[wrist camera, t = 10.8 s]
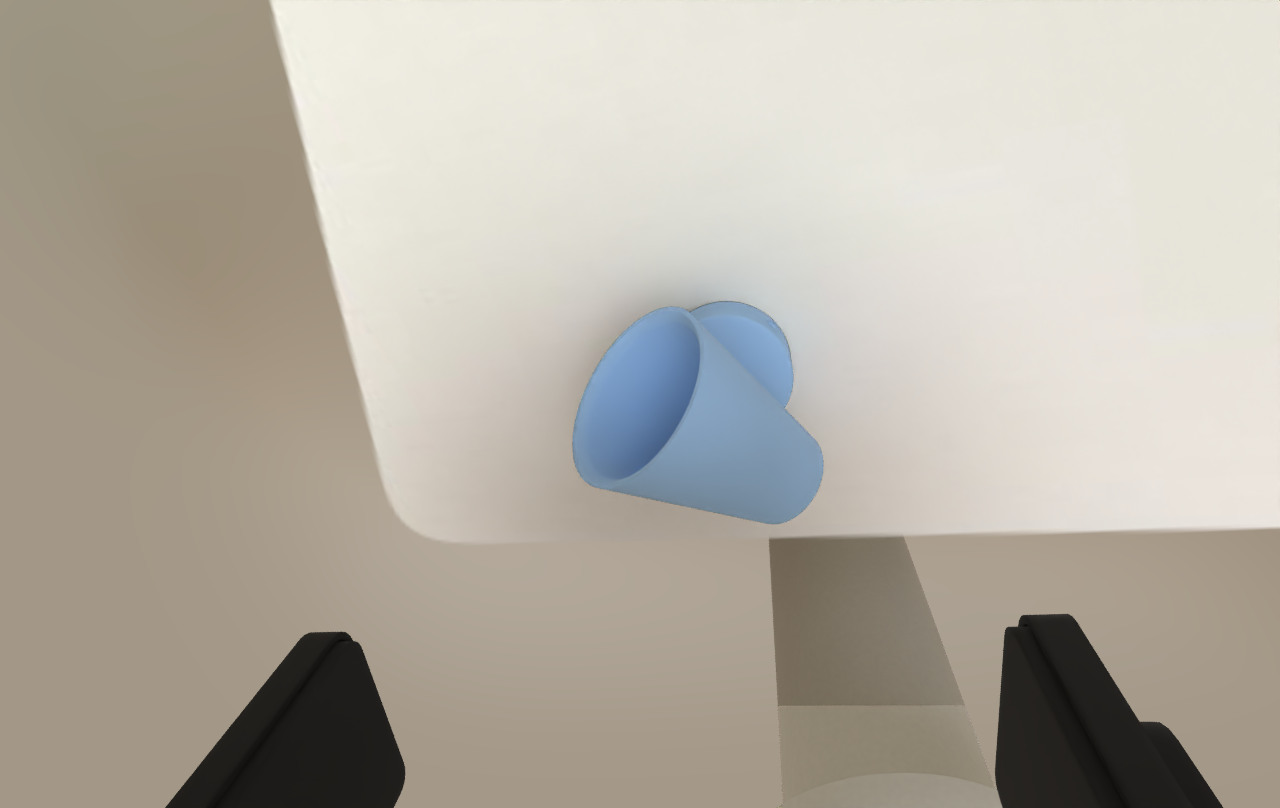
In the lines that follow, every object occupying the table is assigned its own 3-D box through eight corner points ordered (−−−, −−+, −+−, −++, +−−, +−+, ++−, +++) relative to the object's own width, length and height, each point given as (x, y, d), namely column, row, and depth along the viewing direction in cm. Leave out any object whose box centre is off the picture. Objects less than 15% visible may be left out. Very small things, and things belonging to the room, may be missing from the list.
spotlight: (598, 342, 26) (741, 461, 27) (517, 475, 17) (738, 646, 18) (689, 237, 24) (838, 368, 25) (654, 321, 15) (892, 523, 16)
